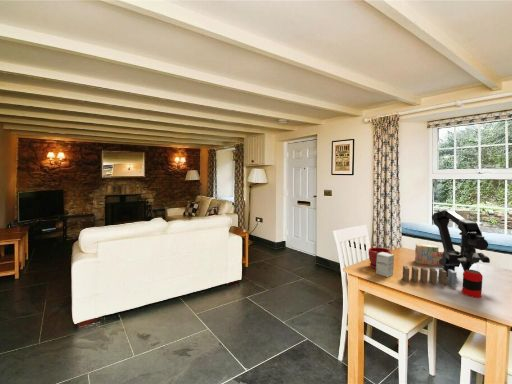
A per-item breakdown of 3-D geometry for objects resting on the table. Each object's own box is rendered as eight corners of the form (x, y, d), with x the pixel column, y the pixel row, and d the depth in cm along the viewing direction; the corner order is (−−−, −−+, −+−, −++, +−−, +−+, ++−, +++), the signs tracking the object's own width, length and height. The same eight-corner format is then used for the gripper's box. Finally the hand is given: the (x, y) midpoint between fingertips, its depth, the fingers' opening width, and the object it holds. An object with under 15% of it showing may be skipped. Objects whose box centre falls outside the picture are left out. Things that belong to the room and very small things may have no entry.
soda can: (472, 291, 139) (473, 268, 138) (485, 297, 131) (486, 274, 130) (458, 291, 138) (459, 268, 138) (470, 298, 131) (471, 274, 130)
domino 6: (447, 282, 150) (448, 269, 149) (451, 282, 149) (452, 269, 149) (451, 285, 145) (452, 272, 145) (455, 286, 145) (456, 272, 144)
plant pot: (383, 264, 180) (384, 246, 179) (394, 271, 167) (395, 252, 166) (364, 264, 179) (365, 246, 179) (373, 271, 166) (374, 252, 166)
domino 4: (429, 280, 152) (429, 267, 152) (433, 280, 152) (433, 268, 151) (432, 284, 147) (433, 270, 147) (436, 284, 147) (437, 271, 146)
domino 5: (438, 281, 151) (438, 268, 151) (442, 281, 151) (442, 268, 150) (441, 284, 146) (442, 271, 146) (446, 285, 146) (446, 272, 145)
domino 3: (420, 279, 153) (420, 267, 153) (423, 280, 153) (424, 267, 152) (423, 283, 148) (423, 270, 148) (427, 283, 148) (427, 270, 148)
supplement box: (375, 273, 162) (376, 253, 161) (381, 271, 166) (382, 251, 166) (387, 277, 156) (388, 256, 155) (393, 274, 161) (394, 254, 160)
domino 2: (411, 278, 154) (411, 266, 154) (415, 279, 154) (415, 266, 153) (414, 282, 150) (414, 269, 149) (417, 282, 149) (418, 269, 149)
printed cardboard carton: (450, 264, 181) (451, 246, 180) (453, 267, 175) (454, 248, 174) (414, 260, 189) (415, 243, 188) (416, 263, 183) (417, 245, 182)
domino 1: (402, 278, 156) (403, 265, 155) (406, 278, 155) (406, 265, 155) (404, 281, 151) (405, 268, 150) (408, 281, 150) (409, 268, 150)
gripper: (454, 247, 139) (452, 276, 140) (497, 250, 134) (495, 280, 135) (445, 242, 149) (443, 269, 151) (484, 244, 145) (482, 272, 146)
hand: (465, 272), depth 145 cm, fingers closed
